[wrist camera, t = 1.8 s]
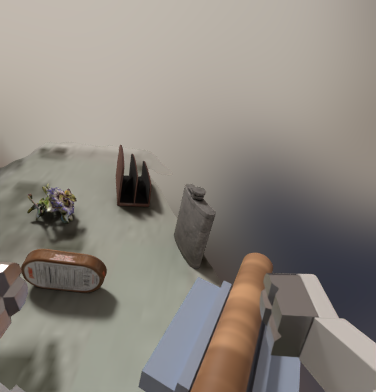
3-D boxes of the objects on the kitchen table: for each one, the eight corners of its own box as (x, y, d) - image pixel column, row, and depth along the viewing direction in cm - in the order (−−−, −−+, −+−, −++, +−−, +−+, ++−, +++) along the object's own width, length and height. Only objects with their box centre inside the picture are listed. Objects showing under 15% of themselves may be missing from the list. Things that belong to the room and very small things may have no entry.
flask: (188, 269, 63) (205, 206, 55) (170, 232, 75) (182, 175, 66) (201, 267, 65) (220, 205, 57) (182, 232, 76) (195, 176, 68)
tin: (105, 285, 55) (108, 254, 51) (102, 297, 52) (104, 265, 48) (28, 276, 53) (25, 243, 49) (20, 289, 50) (16, 255, 46)
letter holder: (117, 206, 81) (120, 164, 75) (115, 177, 98) (118, 141, 91) (149, 207, 84) (155, 167, 78) (142, 179, 101) (147, 144, 94)
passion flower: (68, 235, 73) (80, 220, 64) (22, 235, 67) (28, 218, 58) (69, 198, 78) (80, 180, 69) (26, 194, 71) (32, 173, 63)
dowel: (169, 725, 8) (177, 720, 7) (94, 648, 9) (88, 631, 8) (268, 282, 27) (276, 258, 26) (240, 272, 28) (245, 248, 27)
